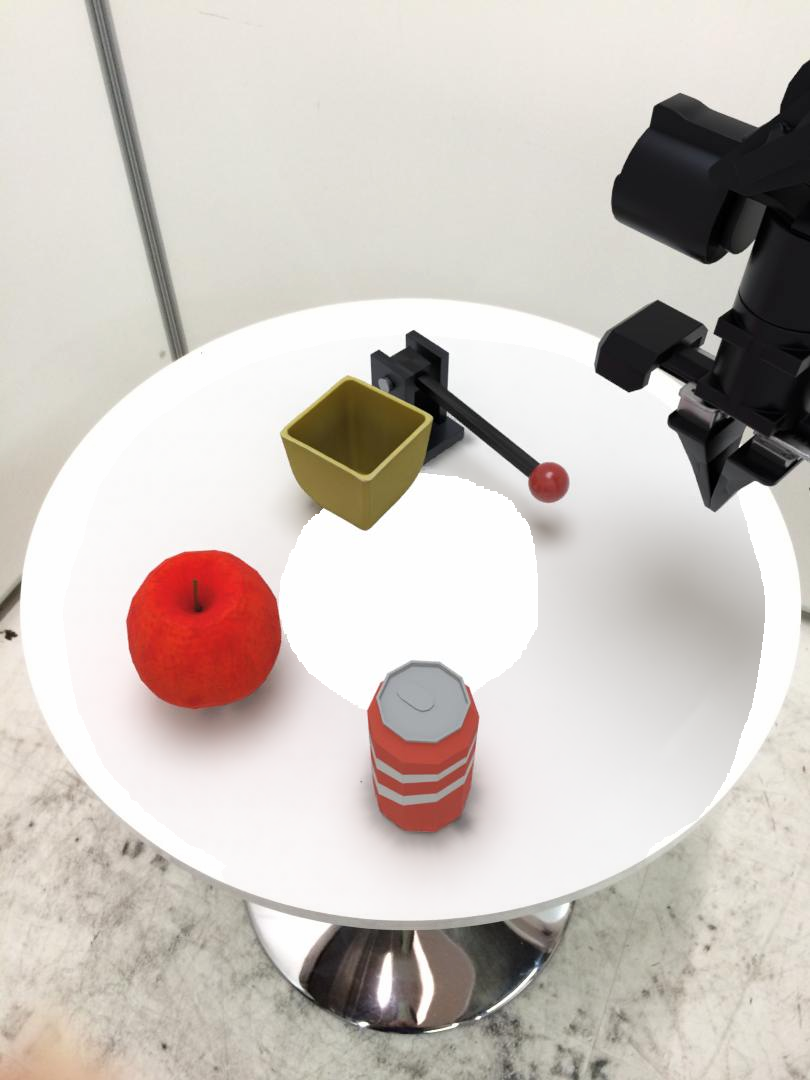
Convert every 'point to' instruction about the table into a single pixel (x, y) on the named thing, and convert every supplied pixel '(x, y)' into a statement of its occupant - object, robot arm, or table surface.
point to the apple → (203, 629)
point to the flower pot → (357, 450)
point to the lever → (487, 431)
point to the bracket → (401, 385)
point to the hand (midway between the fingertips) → (714, 506)
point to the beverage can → (422, 745)
